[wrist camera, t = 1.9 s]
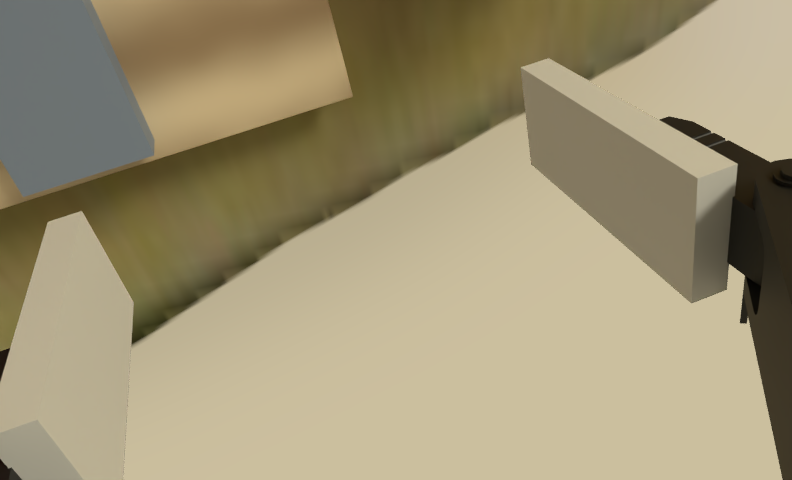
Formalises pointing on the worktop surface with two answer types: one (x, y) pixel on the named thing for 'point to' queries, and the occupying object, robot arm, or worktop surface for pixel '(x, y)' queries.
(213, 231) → the worktop surface
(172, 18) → the tan block
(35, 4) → the blue-grey flat block
